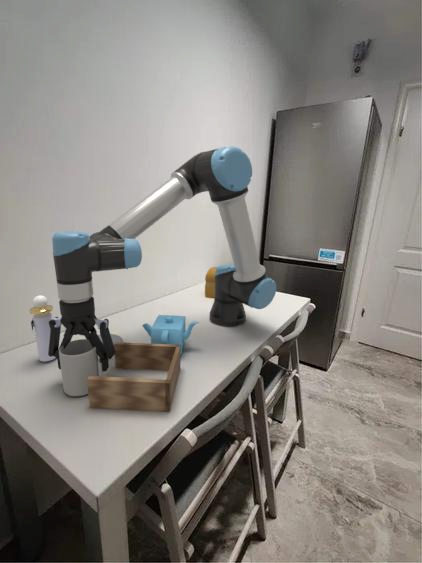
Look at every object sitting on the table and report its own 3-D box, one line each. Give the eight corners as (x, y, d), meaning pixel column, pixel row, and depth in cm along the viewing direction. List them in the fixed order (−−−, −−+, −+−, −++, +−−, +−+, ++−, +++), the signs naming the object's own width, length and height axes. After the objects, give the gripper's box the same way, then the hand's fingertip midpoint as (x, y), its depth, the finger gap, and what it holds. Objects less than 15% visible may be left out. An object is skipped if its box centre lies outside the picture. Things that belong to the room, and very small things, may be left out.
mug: (75, 401, 65) (71, 360, 62) (56, 387, 69) (51, 348, 67) (118, 377, 75) (115, 340, 72) (98, 366, 79) (95, 331, 76)
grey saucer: (128, 336, 98) (128, 334, 97) (114, 356, 85) (114, 353, 85) (91, 335, 98) (91, 333, 98) (72, 354, 85) (72, 351, 85)
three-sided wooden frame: (180, 368, 80) (180, 344, 78) (169, 411, 63) (169, 383, 61) (116, 365, 80) (115, 341, 78) (89, 407, 64) (86, 379, 62)
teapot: (149, 337, 98) (148, 307, 95) (200, 339, 98) (201, 309, 95) (136, 361, 83) (134, 327, 80) (196, 364, 82) (197, 329, 79)
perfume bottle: (61, 353, 86) (54, 291, 80) (56, 363, 80) (47, 298, 75) (41, 355, 84) (31, 292, 79) (33, 365, 79) (23, 299, 74)
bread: (204, 297, 141) (205, 269, 137) (209, 290, 154) (210, 264, 150) (252, 302, 137) (254, 273, 133) (254, 294, 149) (256, 267, 145)
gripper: (126, 294, 69) (130, 373, 75) (42, 291, 70) (52, 370, 76) (115, 305, 62) (121, 391, 68) (21, 301, 62) (35, 387, 69)
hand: (85, 380), depth 72 cm, fingers closed on mug, 9 cm apart
